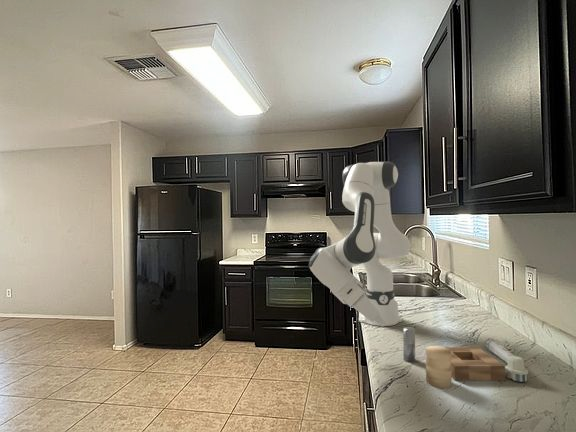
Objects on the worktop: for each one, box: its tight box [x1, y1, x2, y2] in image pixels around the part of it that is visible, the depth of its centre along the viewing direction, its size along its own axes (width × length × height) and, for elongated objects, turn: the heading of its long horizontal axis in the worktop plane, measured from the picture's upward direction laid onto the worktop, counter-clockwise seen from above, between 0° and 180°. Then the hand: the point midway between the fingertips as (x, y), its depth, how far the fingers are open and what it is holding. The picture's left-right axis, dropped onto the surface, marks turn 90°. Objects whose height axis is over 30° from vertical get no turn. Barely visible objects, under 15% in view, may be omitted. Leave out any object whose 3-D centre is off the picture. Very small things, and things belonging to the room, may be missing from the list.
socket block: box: [444, 346, 506, 381], centre depth 103 cm, size 14×14×4 cm
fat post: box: [425, 345, 453, 389], centre depth 95 cm, size 6×6×9 cm
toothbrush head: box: [484, 338, 529, 383], centre depth 106 cm, size 5×7×25 cm
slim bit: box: [402, 326, 416, 363], centre depth 110 cm, size 4×4×10 cm
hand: (380, 320), depth 109 cm, fingers open, 8 cm apart
